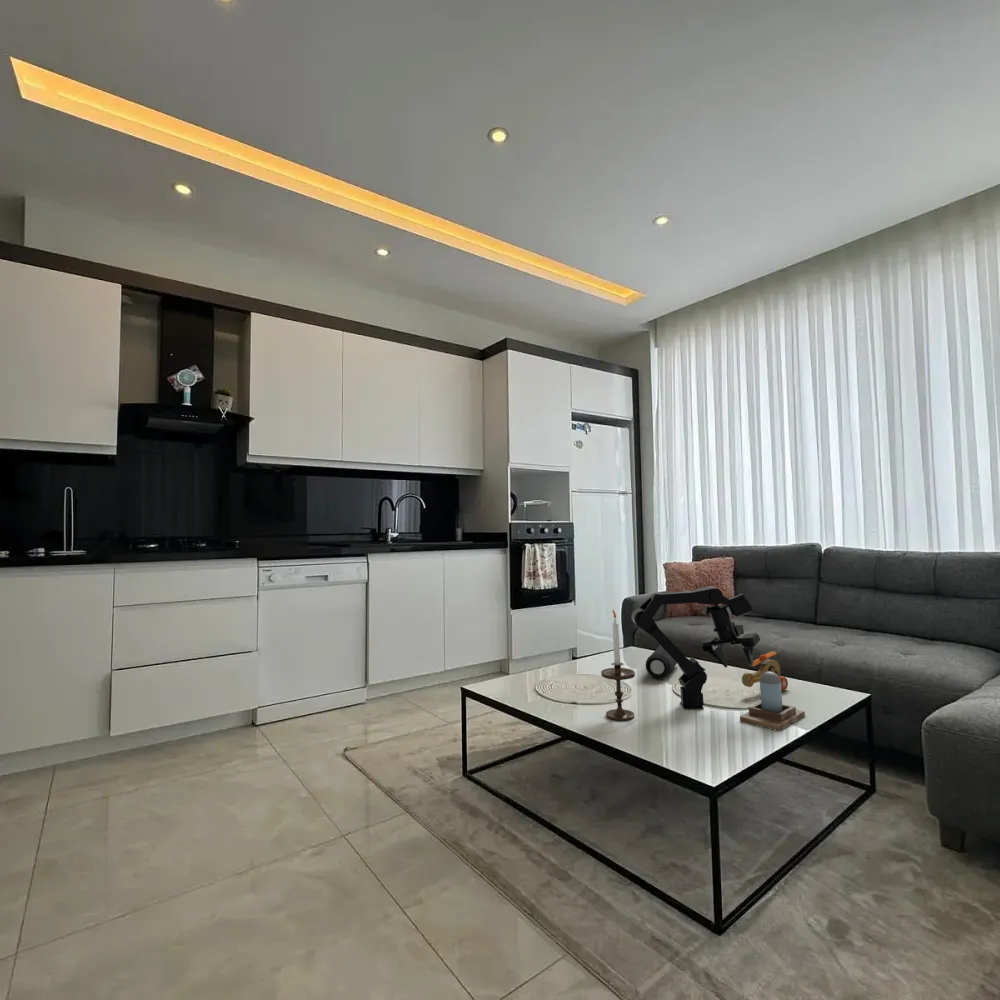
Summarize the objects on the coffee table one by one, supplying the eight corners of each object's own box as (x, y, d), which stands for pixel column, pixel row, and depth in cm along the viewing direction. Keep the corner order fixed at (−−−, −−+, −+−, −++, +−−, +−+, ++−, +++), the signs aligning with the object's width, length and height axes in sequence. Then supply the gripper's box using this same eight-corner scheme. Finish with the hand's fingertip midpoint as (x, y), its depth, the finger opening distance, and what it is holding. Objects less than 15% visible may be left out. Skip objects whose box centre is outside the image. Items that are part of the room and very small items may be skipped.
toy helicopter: (790, 689, 203) (787, 651, 204) (756, 700, 192) (753, 660, 193) (769, 684, 210) (767, 647, 211) (735, 695, 199) (732, 656, 200)
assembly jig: (779, 731, 164) (778, 719, 164) (740, 721, 173) (739, 709, 174) (805, 715, 176) (804, 704, 176) (766, 707, 185) (766, 696, 185)
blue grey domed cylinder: (760, 715, 174) (757, 673, 174) (762, 709, 179) (760, 668, 179) (782, 717, 170) (779, 675, 171) (783, 711, 176) (781, 670, 176)
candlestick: (597, 714, 185) (592, 608, 187) (624, 709, 189) (619, 605, 191) (614, 724, 175) (609, 612, 177) (643, 718, 179) (638, 609, 180)
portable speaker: (658, 664, 246) (656, 641, 246) (681, 666, 241) (680, 642, 242) (644, 679, 223) (643, 654, 224) (670, 681, 219) (668, 656, 219)
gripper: (757, 610, 188) (774, 654, 187) (707, 617, 201) (723, 658, 200) (744, 622, 180) (762, 668, 179) (693, 628, 194) (710, 671, 193)
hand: (739, 666), depth 188 cm, fingers open, 9 cm apart
